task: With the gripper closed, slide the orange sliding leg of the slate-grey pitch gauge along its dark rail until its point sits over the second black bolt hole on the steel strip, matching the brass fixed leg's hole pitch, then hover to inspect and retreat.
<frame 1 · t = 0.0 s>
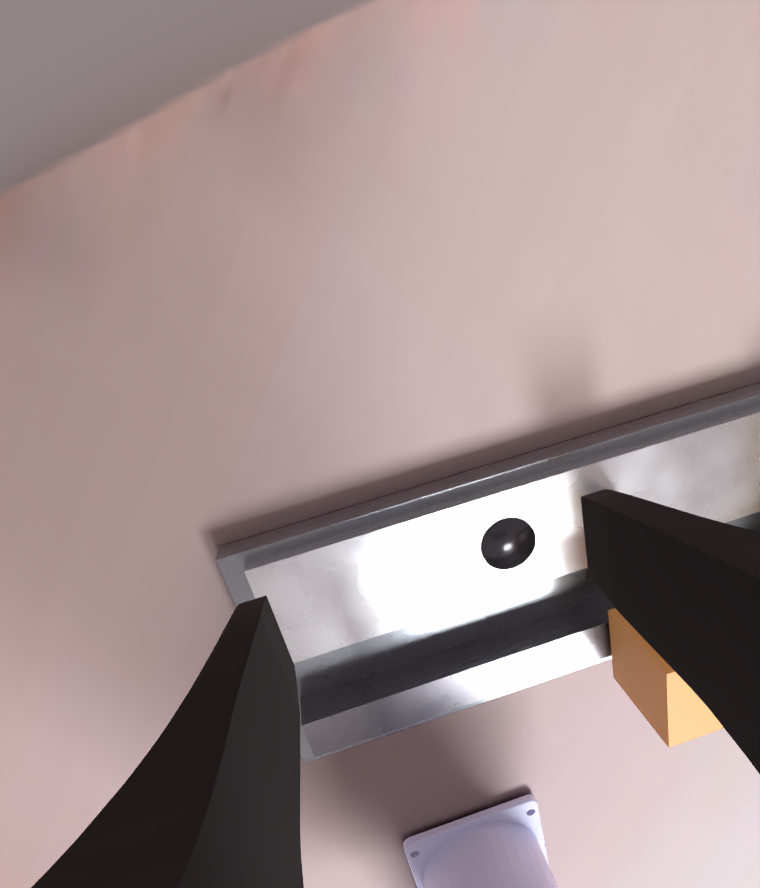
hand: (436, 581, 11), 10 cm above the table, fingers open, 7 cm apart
sliding leg: (662, 612, 21), point 4 cm above the table, slide at 5.0 cm
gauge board: (562, 559, 25), on the table
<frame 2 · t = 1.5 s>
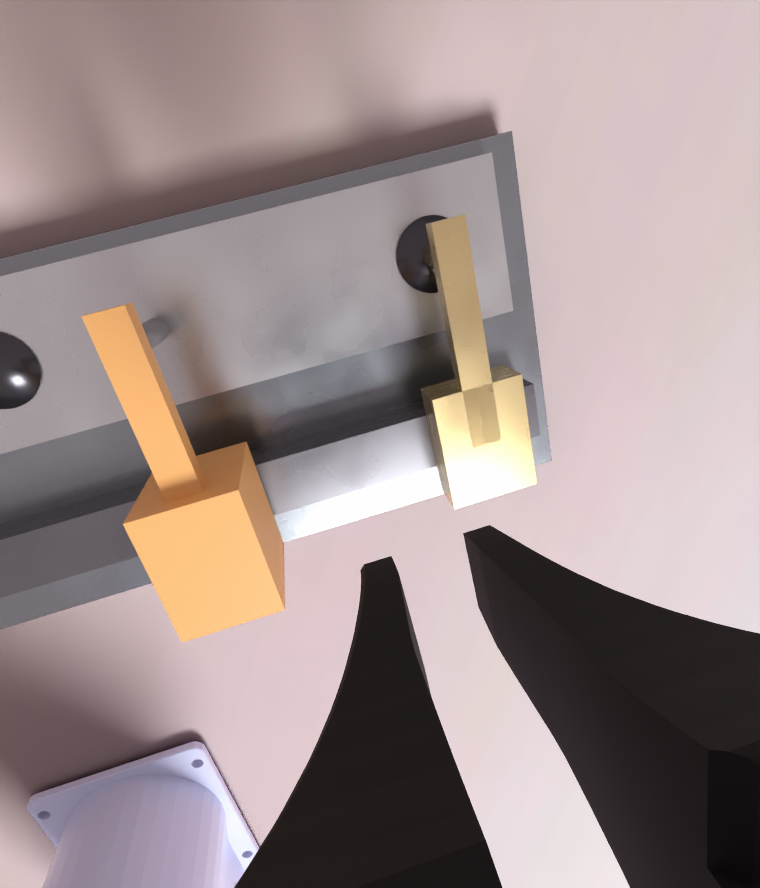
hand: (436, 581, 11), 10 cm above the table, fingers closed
sliding leg: (187, 457, 15), point 4 cm above the table, slide at 5.0 cm
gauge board: (146, 417, 19), on the table
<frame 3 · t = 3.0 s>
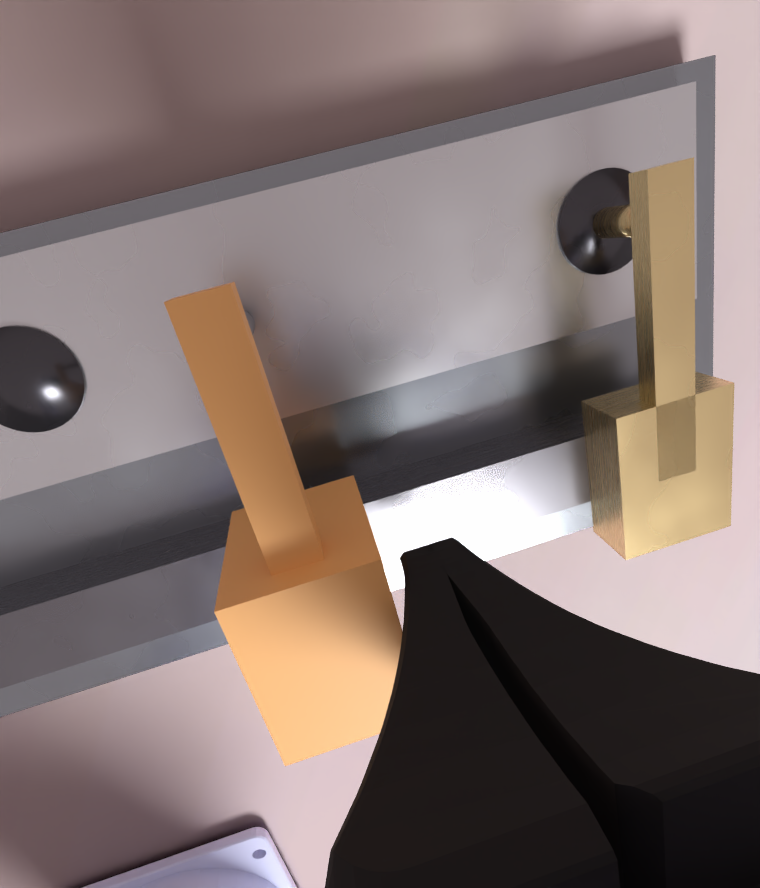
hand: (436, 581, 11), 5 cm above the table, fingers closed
sliding leg: (288, 503, 11), point 4 cm above the table, slide at 5.1 cm, touching gripper
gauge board: (214, 438, 15), on the table
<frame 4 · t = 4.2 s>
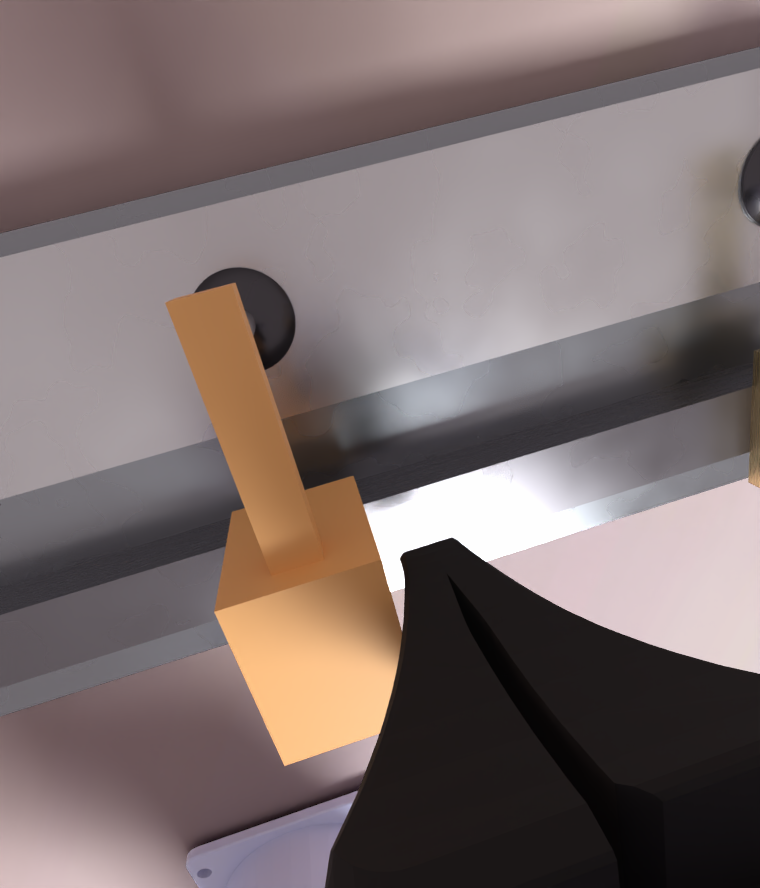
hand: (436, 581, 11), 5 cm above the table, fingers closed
sliding leg: (288, 503, 11), point 4 cm above the table, slide at 10.1 cm, touching gripper
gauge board: (383, 390, 15), on the table
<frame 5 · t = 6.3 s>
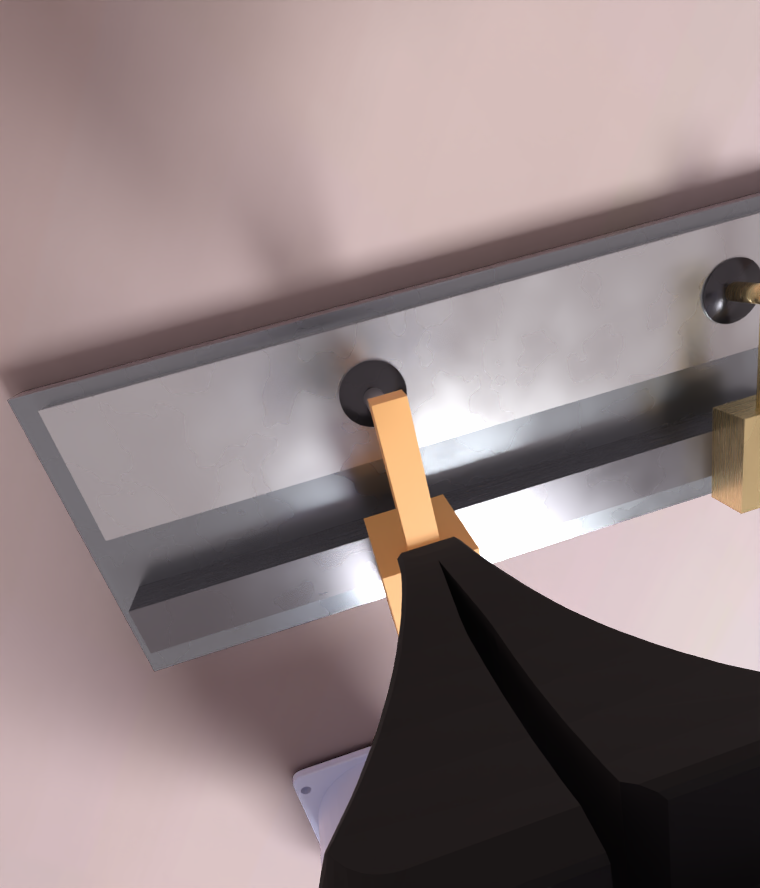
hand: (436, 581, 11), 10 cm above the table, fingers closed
sliding leg: (410, 513, 17), point 4 cm above the table, slide at 10.1 cm
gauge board: (454, 432, 21), on the table
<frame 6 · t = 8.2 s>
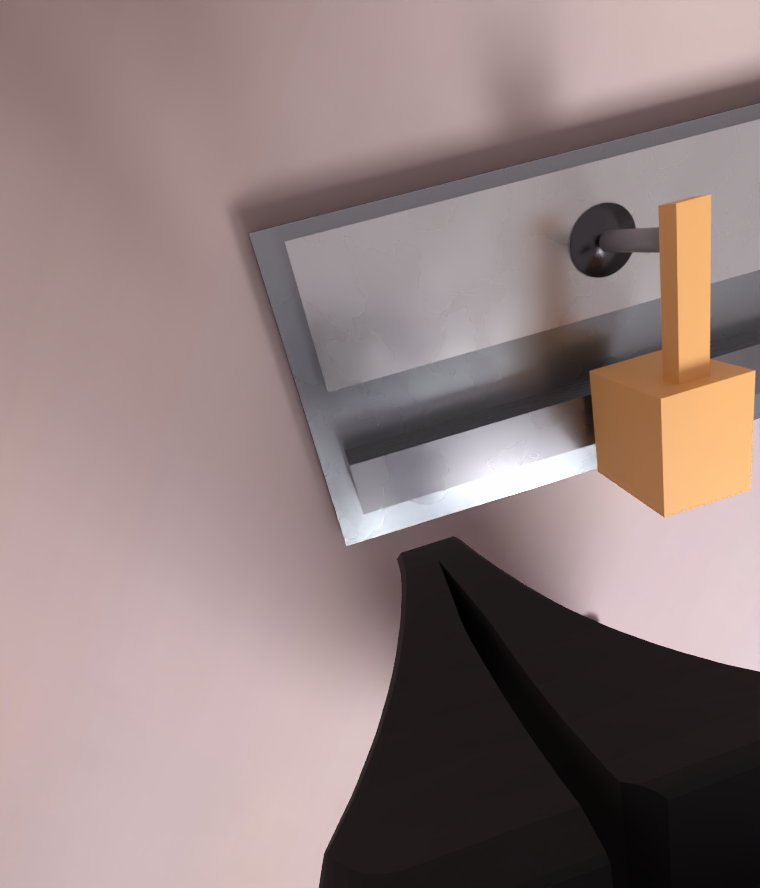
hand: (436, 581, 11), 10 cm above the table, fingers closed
sliding leg: (656, 353, 17), point 4 cm above the table, slide at 10.1 cm
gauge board: (654, 301, 21), on the table
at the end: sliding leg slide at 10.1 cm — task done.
